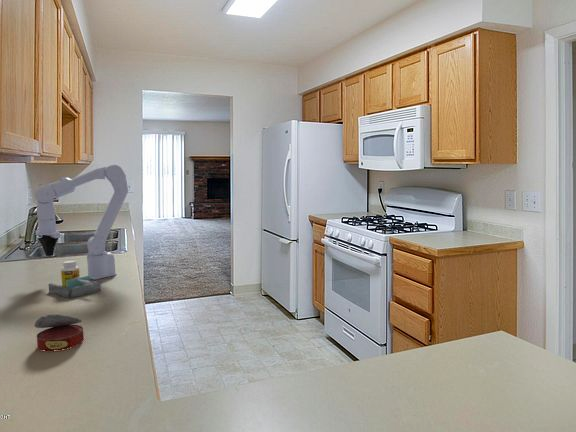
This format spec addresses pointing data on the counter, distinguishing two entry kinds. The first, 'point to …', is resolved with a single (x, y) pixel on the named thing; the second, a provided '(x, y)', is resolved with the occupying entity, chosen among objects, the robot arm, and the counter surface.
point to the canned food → (58, 332)
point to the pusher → (78, 281)
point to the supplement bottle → (69, 271)
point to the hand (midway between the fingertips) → (49, 255)
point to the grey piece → (74, 289)
